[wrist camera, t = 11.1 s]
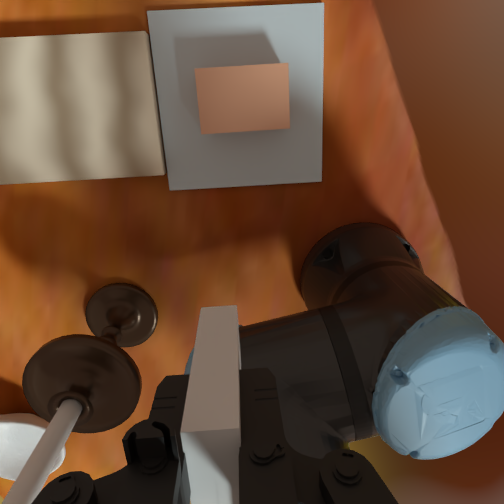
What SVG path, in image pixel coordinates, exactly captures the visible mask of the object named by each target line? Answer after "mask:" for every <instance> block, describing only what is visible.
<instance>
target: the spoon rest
mask: <svg viewBox="0 0 504 504" xmlns="http://www.w3.org/2000/svg"><path fill="white" fill-rule="evenodd" d="M49 424H50V423H49V422H47V421H46V420H44V419H43V418H41V417H39V416H37V415H34V414H30V413H12V414H2V415H0V477H2V478H5V479H9V480H16V479H17V477H18V475H19V474H20V472H21V470H22V469H23V467H24V465H25V464H26V462H27V460H28V459H29V457H30V455H31V454H32V452H33V450H34V449H35V447H36V445H37V444H38V442H39V440H40V439H41V437H42V435H43V434H44V432H45V430H46V429H47V427H48V425H49ZM65 454H66V450H65V445H64V446H63V448H62V450H61V452H60V454H59V456H58V458H57V460H56V462H55V464H54V466H53V468H52V470H51V472H50V473H52V472H54V471H55V470H56V469H57V468H59V466H60V465H61V464H62V462H63V461H64V458H65Z"/></svg>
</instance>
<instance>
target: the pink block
mask: <svg viewBox="0 0 504 504" xmlns="http://www.w3.org/2000/svg"><path fill="white" fill-rule="evenodd" d="M194 70H195V79H196V89H197V99H198V108H199V118H200V128H201V134H215V133H230V132H245V131H260V130H275V129H290V107H289V68H288V63H276V64H260V65H244V66H227V67H211V68H195V69H194Z"/></svg>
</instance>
